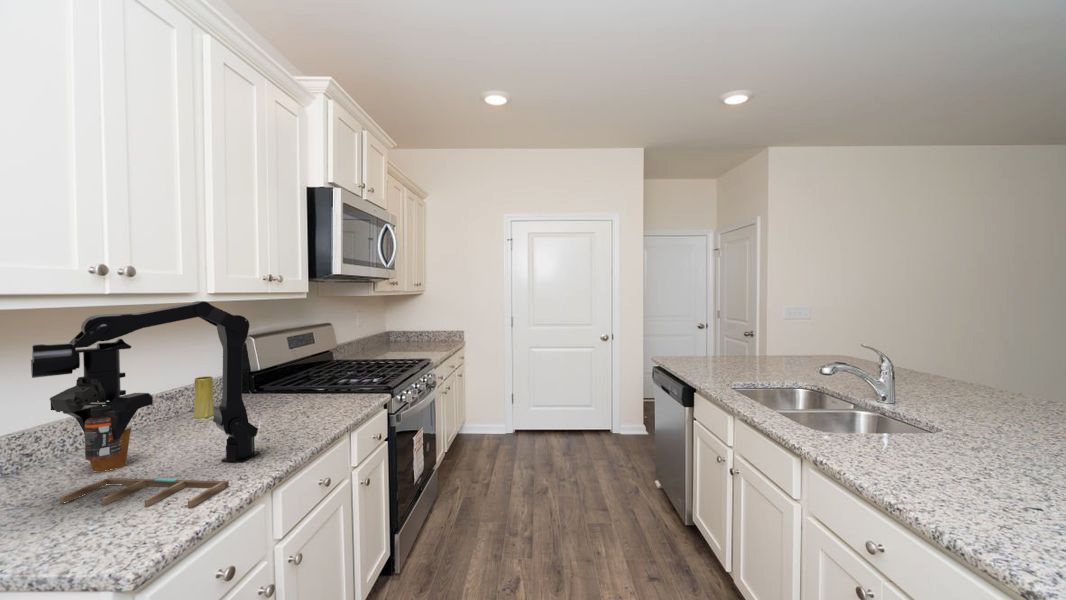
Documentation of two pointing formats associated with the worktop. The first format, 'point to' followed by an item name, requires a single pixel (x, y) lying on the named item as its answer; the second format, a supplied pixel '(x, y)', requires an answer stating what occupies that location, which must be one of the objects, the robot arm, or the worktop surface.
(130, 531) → the worktop surface
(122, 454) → the disposable coffee cup
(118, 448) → the supplement bottle
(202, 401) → the vase
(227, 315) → the robot arm
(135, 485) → the notched rack
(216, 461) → the worktop surface
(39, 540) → the worktop surface
